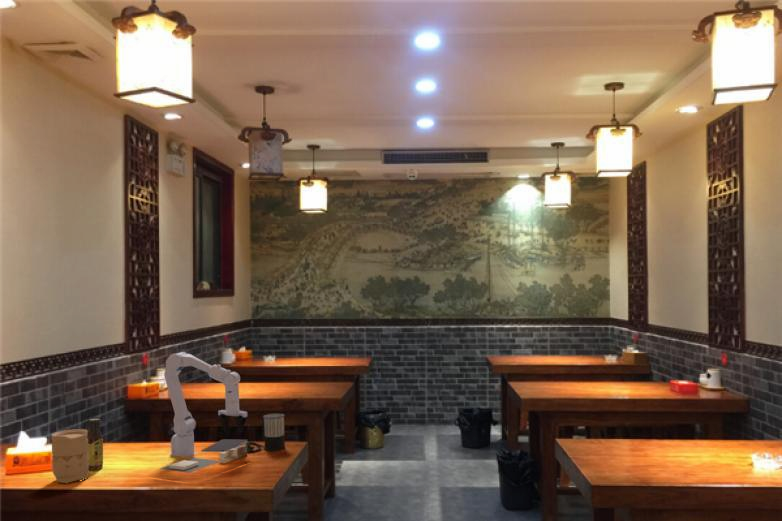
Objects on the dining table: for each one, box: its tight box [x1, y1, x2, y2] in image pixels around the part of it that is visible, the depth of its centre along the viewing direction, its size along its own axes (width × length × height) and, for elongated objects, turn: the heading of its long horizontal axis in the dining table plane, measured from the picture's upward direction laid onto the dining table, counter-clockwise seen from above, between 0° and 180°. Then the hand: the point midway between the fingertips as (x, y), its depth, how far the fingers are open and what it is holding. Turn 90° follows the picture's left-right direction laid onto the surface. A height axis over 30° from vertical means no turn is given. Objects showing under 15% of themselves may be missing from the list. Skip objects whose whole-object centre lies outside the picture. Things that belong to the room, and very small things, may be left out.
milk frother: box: [245, 413, 286, 453], centre depth 303 cm, size 14×16×15 cm
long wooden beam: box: [218, 444, 248, 464], centre depth 288 cm, size 14×2×4 cm, turn 152°
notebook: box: [200, 438, 248, 453], centre depth 312 cm, size 13×2×21 cm
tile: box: [168, 459, 199, 470], centre depth 277 cm, size 2×8×8 cm
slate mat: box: [159, 457, 220, 473], centre depth 280 cm, size 16×18×1 cm
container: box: [51, 428, 89, 484], centre depth 267 cm, size 13×13×18 cm
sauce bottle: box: [87, 418, 104, 471], centre depth 282 cm, size 7×6×20 cm
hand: (233, 432), depth 297 cm, fingers open, 7 cm apart
